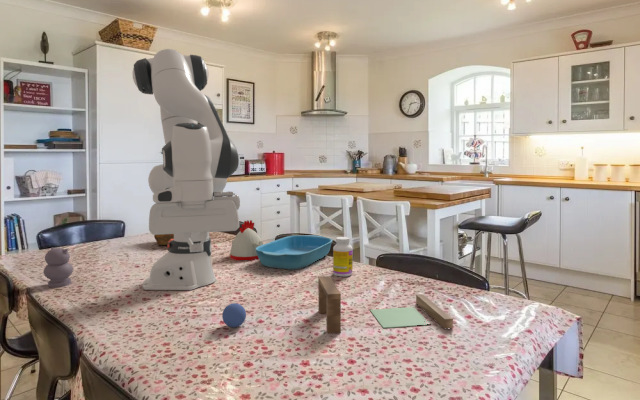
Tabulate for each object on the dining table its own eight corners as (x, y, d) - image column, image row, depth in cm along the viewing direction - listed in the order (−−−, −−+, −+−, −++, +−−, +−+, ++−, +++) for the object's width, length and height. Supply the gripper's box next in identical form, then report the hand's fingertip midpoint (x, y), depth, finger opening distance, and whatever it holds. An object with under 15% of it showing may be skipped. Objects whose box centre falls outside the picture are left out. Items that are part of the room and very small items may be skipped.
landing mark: (383, 328, 101) (383, 327, 101) (369, 310, 113) (369, 309, 113) (431, 324, 103) (431, 324, 103) (413, 307, 115) (413, 306, 115)
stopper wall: (444, 329, 100) (445, 319, 100) (416, 303, 118) (416, 294, 118) (452, 328, 100) (453, 318, 100) (422, 303, 118) (423, 294, 118)
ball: (221, 331, 99) (221, 308, 99) (223, 322, 105) (222, 300, 104) (246, 330, 100) (245, 307, 100) (246, 321, 106) (246, 299, 105)
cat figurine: (38, 286, 135) (35, 249, 134) (60, 279, 143) (58, 244, 141) (57, 289, 132) (55, 251, 131) (79, 282, 140) (77, 246, 138)
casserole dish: (298, 275, 147) (298, 255, 147) (245, 268, 157) (244, 249, 156) (340, 253, 180) (340, 237, 180) (294, 249, 190) (294, 233, 189)
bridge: (327, 333, 98) (327, 294, 97) (318, 311, 113) (318, 276, 112) (340, 332, 99) (340, 293, 98) (329, 310, 113) (329, 276, 112)
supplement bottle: (351, 277, 143) (351, 240, 142) (331, 276, 145) (331, 239, 143) (353, 272, 150) (353, 236, 148) (334, 271, 151) (334, 235, 150)
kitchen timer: (271, 255, 177) (270, 219, 175) (248, 262, 165) (248, 224, 164) (246, 251, 184) (245, 217, 183) (223, 258, 173) (222, 221, 171)
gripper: (239, 190, 104) (241, 246, 105) (151, 193, 101) (154, 251, 102) (239, 192, 98) (241, 251, 99) (145, 195, 94) (148, 256, 95)
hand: (196, 251), depth 100 cm, fingers closed
